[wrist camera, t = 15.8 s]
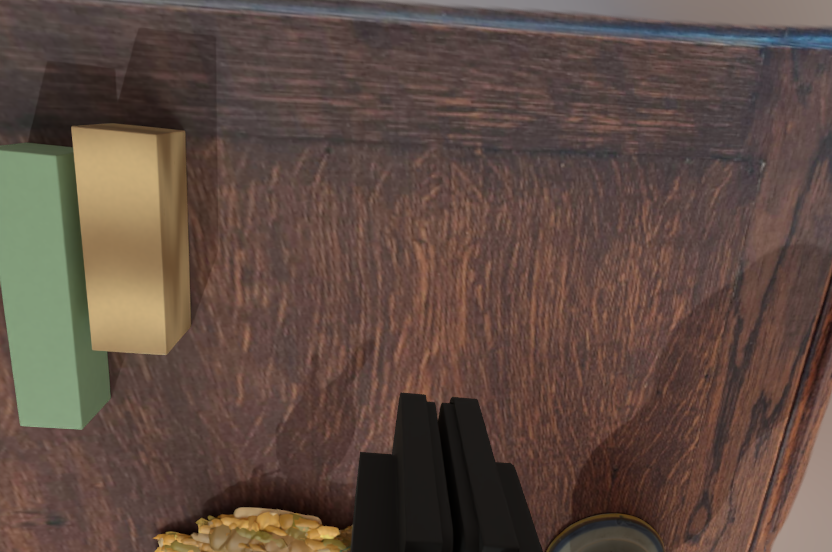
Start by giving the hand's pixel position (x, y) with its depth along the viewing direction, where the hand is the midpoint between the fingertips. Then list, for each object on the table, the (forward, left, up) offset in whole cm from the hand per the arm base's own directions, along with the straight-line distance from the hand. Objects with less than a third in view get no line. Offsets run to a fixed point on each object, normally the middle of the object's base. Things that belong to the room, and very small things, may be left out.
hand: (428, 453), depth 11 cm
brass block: (+2, -14, -22) cm, 26 cm away
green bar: (+5, -19, -22) cm, 29 cm away
